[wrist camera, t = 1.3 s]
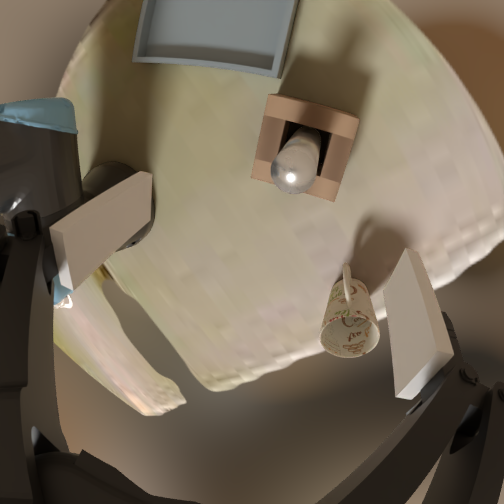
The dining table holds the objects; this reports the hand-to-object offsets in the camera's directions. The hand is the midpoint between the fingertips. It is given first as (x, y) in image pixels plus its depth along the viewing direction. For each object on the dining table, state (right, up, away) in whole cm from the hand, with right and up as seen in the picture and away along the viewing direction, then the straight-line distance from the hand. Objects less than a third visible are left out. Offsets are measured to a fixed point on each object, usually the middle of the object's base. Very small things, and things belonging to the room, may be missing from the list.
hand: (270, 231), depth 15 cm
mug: (+14, -6, +31) cm, 35 cm away
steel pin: (+6, +13, +22) cm, 26 cm away
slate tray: (-6, +29, +16) cm, 33 cm away
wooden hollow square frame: (+6, +13, +22) cm, 26 cm away
